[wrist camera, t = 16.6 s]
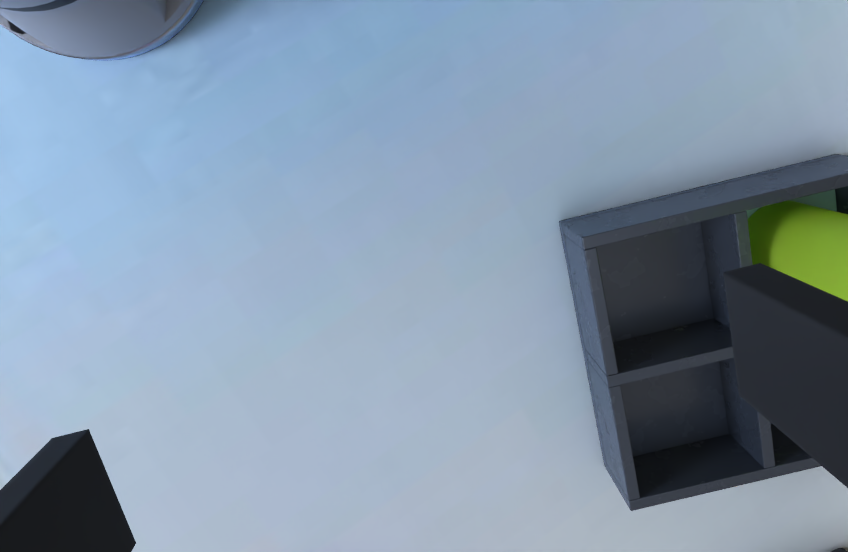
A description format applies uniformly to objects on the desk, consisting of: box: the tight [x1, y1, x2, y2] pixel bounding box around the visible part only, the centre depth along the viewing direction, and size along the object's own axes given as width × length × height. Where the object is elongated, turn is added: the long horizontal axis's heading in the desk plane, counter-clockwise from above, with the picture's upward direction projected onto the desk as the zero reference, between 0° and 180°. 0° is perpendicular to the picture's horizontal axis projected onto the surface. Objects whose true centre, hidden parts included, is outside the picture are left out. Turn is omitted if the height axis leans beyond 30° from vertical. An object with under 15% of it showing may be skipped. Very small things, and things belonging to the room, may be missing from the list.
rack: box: [559, 154, 848, 511], centre depth 46 cm, size 19×19×6 cm
